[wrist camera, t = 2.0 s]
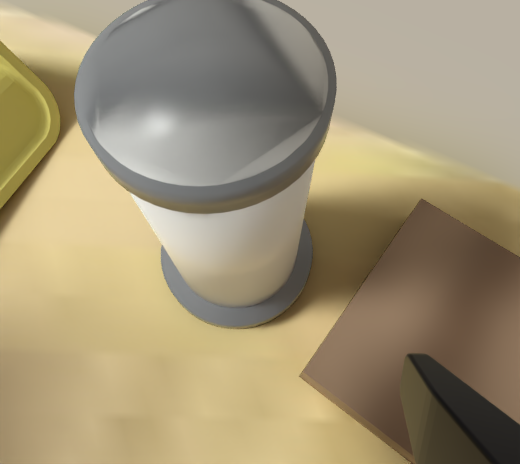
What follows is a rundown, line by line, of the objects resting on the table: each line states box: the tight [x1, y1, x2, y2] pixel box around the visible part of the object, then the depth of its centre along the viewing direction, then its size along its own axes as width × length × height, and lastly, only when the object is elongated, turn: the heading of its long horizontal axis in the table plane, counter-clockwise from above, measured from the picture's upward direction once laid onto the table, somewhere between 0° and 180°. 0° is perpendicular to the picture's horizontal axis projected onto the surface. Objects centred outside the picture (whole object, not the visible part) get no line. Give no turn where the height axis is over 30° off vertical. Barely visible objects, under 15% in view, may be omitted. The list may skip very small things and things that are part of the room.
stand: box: [299, 199, 520, 464], centre depth 19 cm, size 10×10×2 cm
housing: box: [74, 0, 336, 329], centre depth 17 cm, size 8×8×13 cm
